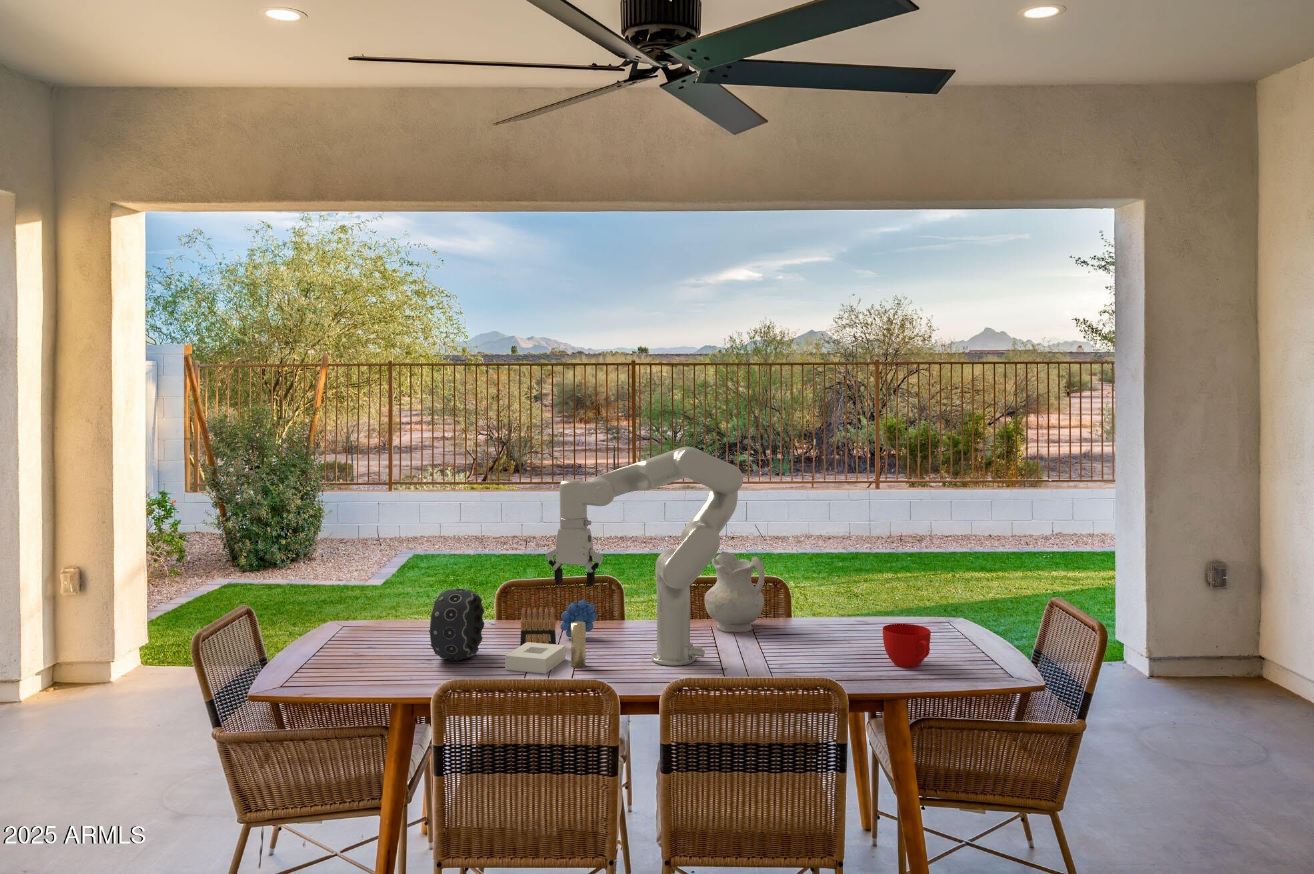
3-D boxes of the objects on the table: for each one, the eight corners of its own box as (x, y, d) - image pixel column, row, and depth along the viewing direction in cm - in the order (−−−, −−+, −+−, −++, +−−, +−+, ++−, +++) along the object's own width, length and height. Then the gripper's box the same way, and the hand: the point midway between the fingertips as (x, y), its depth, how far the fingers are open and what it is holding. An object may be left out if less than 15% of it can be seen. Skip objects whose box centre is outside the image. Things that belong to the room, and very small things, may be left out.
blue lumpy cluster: (595, 633, 273) (595, 596, 273) (598, 638, 267) (598, 600, 266) (559, 635, 271) (559, 597, 271) (561, 640, 265) (560, 602, 264)
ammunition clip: (520, 647, 258) (519, 607, 257) (520, 645, 259) (520, 606, 259) (555, 647, 258) (555, 607, 258) (556, 645, 260) (556, 606, 259)
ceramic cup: (906, 678, 228) (907, 640, 228) (873, 660, 244) (873, 625, 244) (948, 673, 231) (949, 637, 231) (913, 656, 248) (913, 622, 247)
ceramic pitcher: (779, 630, 281) (781, 554, 282) (753, 639, 264) (756, 558, 265) (721, 622, 292) (723, 549, 293) (693, 630, 276) (695, 552, 277)
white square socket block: (565, 659, 245) (565, 645, 245) (545, 673, 232) (545, 659, 232) (527, 655, 249) (527, 642, 249) (505, 669, 235) (505, 655, 235)
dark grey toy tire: (427, 668, 237) (426, 596, 236) (451, 648, 257) (451, 582, 256) (464, 669, 236) (464, 597, 235) (486, 649, 256) (486, 582, 255)
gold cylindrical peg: (587, 664, 240) (587, 622, 240) (582, 668, 236) (582, 625, 236) (574, 663, 241) (574, 621, 241) (569, 667, 238) (568, 624, 237)
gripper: (607, 523, 239) (608, 583, 240) (552, 521, 245) (553, 580, 246) (596, 527, 232) (597, 589, 233) (539, 524, 238) (540, 585, 239)
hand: (574, 584), depth 240 cm, fingers open, 9 cm apart
